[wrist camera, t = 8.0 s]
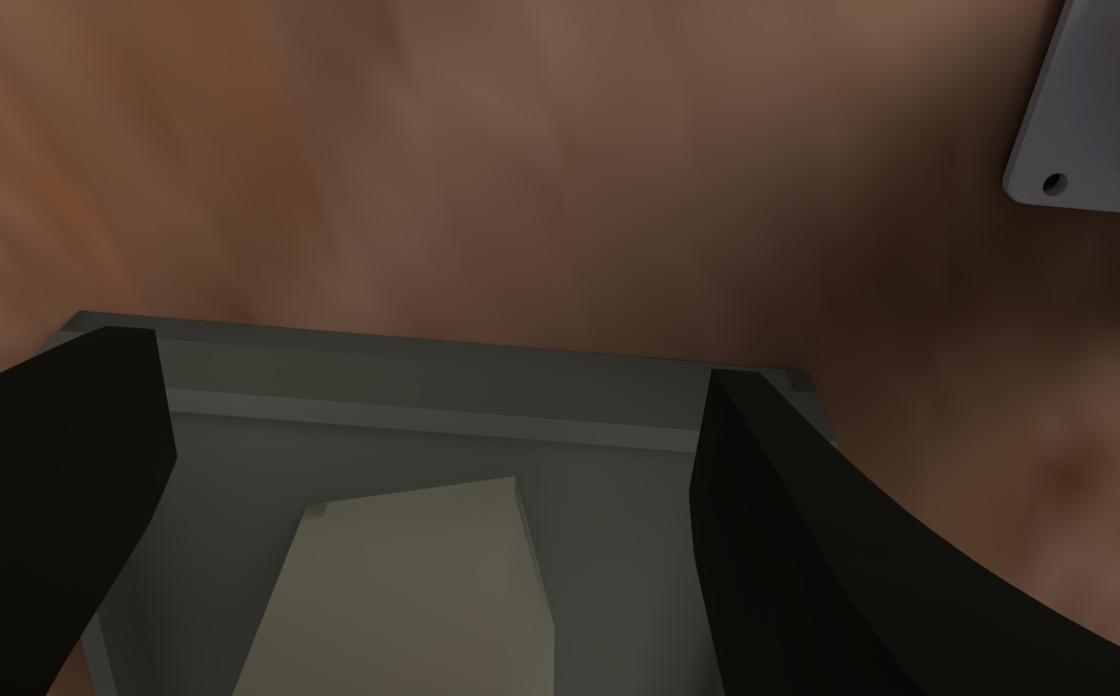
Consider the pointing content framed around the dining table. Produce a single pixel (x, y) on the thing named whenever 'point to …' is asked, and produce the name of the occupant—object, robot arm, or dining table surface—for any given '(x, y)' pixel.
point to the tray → (412, 464)
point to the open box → (408, 600)
